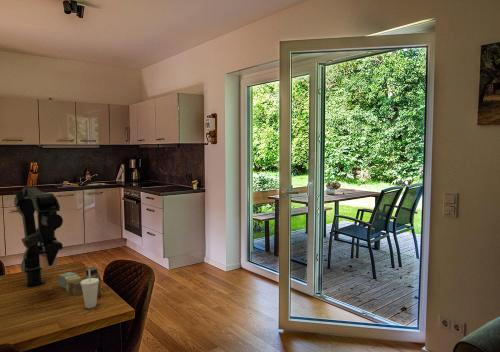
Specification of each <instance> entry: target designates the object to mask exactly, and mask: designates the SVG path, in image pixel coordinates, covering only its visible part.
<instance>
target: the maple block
mask: <svg viewBox="0 0 500 352" xmlns="http://www.w3.org/2000/svg"><path fill="white" fill-rule="evenodd" d="M80 278H81V276H79V275H78V274H77V275H74V276H69V277H65V288H64V289H65V291H66V292H67V293H69V287H68V282H70V281H73V280H76V279H80Z"/></svg>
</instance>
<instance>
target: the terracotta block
mask: <svg viewBox="0 0 500 352" xmlns="http://www.w3.org/2000/svg"><path fill="white" fill-rule="evenodd" d="M57 255H58V254H57ZM57 255H56V257H55V260H54V262H53V264H52V266H49V265H48V261H47V257H46V253H45V254H39V259H40V267H41V268H42V269H41V270H48V269H52V268H57V267H58V257H57Z"/></svg>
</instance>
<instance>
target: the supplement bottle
mask: <svg viewBox="0 0 500 352" xmlns="http://www.w3.org/2000/svg"><path fill="white" fill-rule="evenodd" d="M85 269H86V270H85V271H86V273H85V274H84V275H83V280H85V279H89V271H88V270H90V278H97V279H99V283H98V291H97V298H99V297H100V296H101V294H102V293H101V274H100V273H99V272H98V268H97V267H95V266H93V267H88V268H85Z"/></svg>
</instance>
